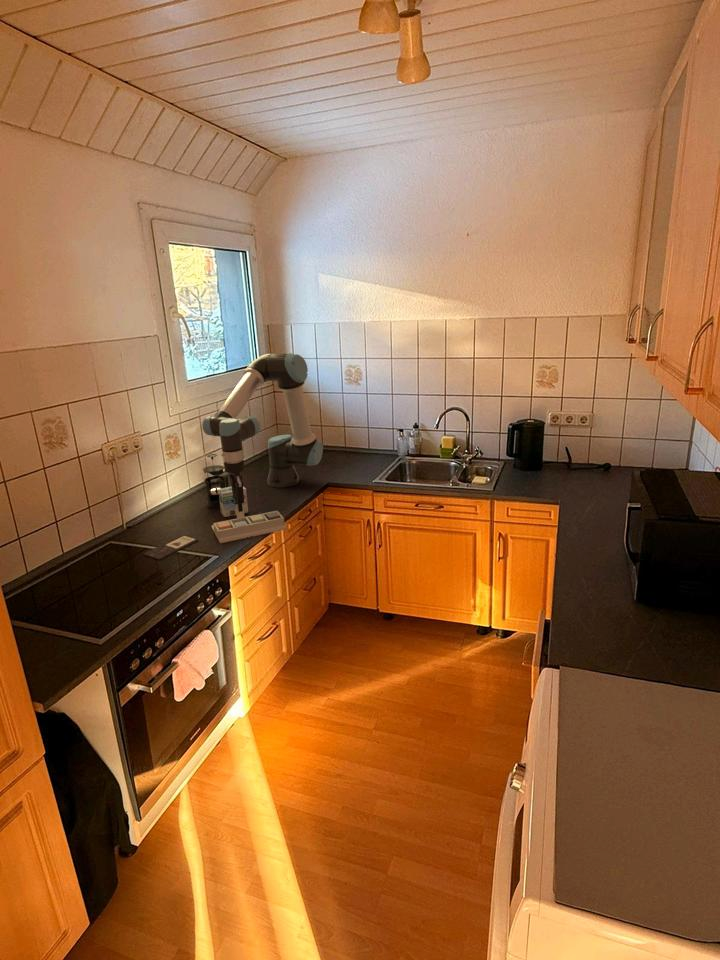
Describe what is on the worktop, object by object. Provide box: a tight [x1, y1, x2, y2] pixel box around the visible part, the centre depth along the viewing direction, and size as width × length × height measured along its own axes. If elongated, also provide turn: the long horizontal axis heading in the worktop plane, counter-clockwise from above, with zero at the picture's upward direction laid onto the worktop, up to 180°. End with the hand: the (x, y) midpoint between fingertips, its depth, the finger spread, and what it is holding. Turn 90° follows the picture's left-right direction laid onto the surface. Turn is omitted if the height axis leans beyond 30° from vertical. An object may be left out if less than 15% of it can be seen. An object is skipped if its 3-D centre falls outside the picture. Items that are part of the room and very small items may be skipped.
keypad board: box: [211, 510, 287, 544], centre depth 221 cm, size 26×16×4 cm, turn 115°
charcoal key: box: [265, 511, 280, 520], centre depth 223 cm, size 4×4×2 cm
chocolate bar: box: [142, 534, 199, 561], centre depth 208 cm, size 9×1×18 cm
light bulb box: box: [218, 485, 249, 518], centre depth 237 cm, size 11×7×11 cm, turn 118°
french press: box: [202, 453, 230, 509], centre depth 245 cm, size 12×9×23 cm
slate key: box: [234, 521, 248, 527], centre depth 219 cm, size 4×4×2 cm
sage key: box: [250, 514, 264, 524], centre depth 221 cm, size 4×4×2 cm
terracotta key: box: [216, 520, 231, 530], centre depth 216 cm, size 4×4×2 cm
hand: (240, 518), depth 218 cm, fingers closed
